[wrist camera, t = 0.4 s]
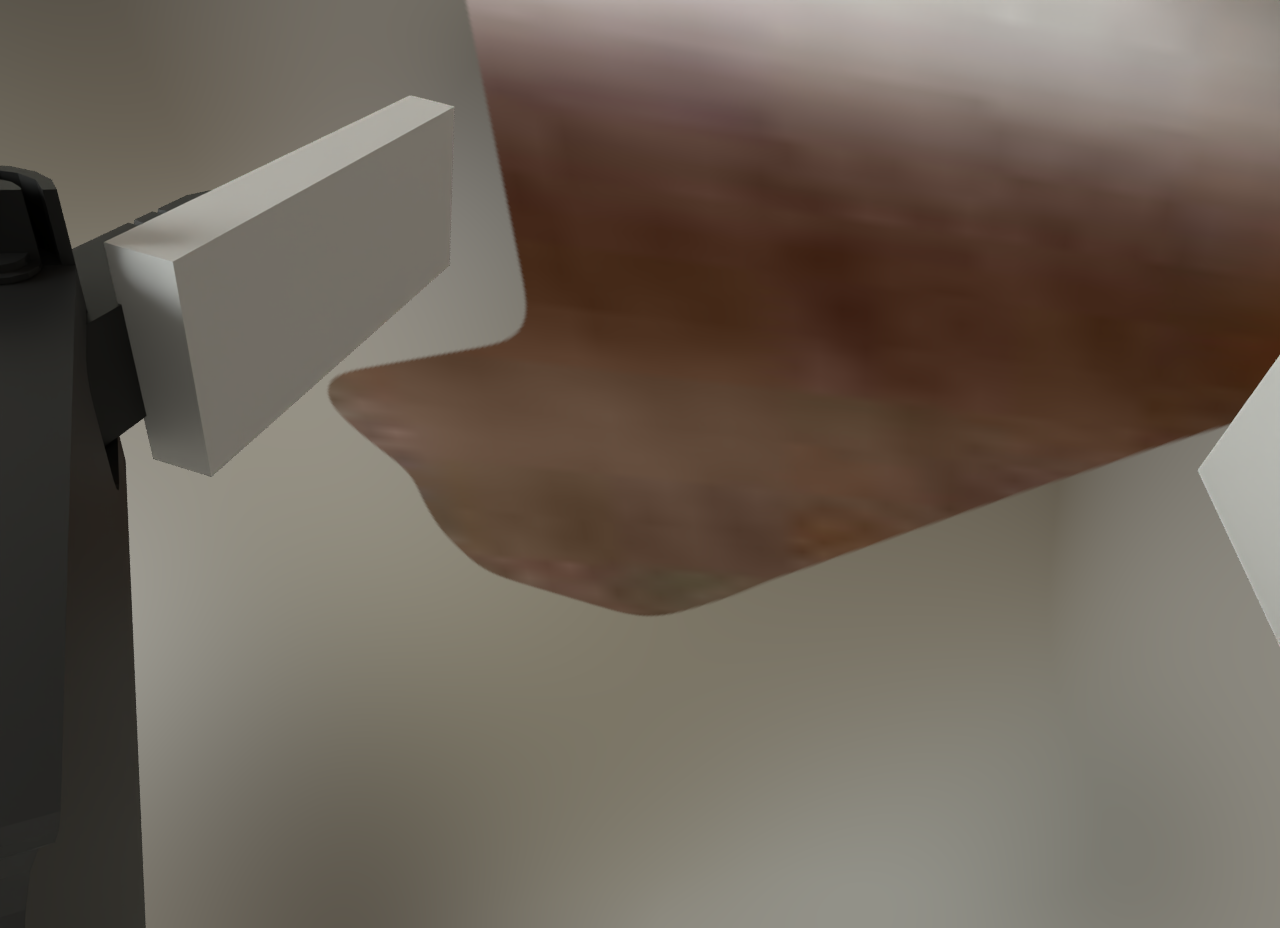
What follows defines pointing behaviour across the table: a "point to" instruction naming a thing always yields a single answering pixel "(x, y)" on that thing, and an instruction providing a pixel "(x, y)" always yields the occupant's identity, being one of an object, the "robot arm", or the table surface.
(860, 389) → the table surface
